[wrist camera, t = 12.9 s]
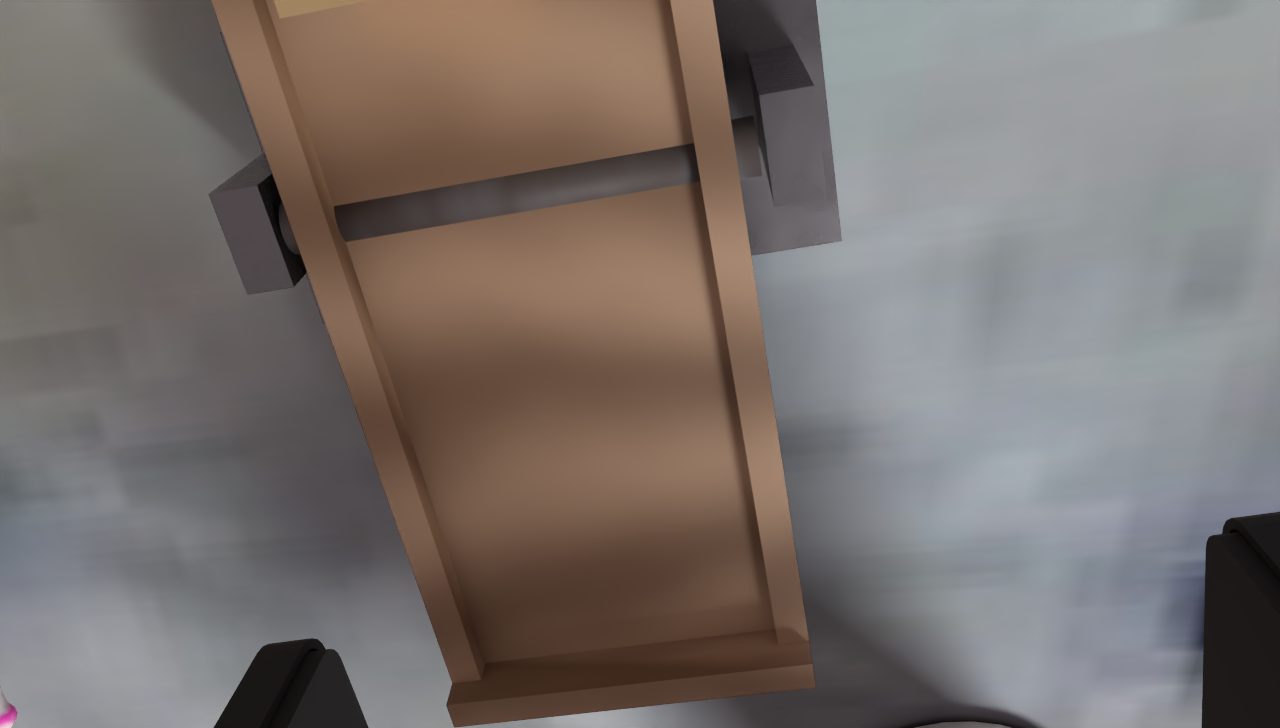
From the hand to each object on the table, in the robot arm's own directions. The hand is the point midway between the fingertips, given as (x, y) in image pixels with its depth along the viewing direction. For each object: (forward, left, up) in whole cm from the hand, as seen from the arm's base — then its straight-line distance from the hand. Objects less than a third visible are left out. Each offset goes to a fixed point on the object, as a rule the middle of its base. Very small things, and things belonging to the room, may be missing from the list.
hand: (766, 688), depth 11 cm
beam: (-3, +5, -19) cm, 20 cm away
